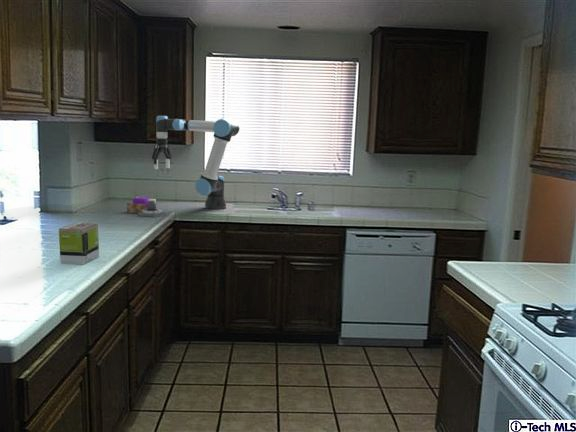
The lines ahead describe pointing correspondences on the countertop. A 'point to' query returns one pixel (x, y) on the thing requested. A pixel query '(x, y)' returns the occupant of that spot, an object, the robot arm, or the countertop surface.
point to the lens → (151, 204)
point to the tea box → (78, 243)
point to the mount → (151, 213)
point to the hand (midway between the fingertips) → (161, 168)
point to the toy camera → (141, 201)
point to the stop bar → (135, 207)
